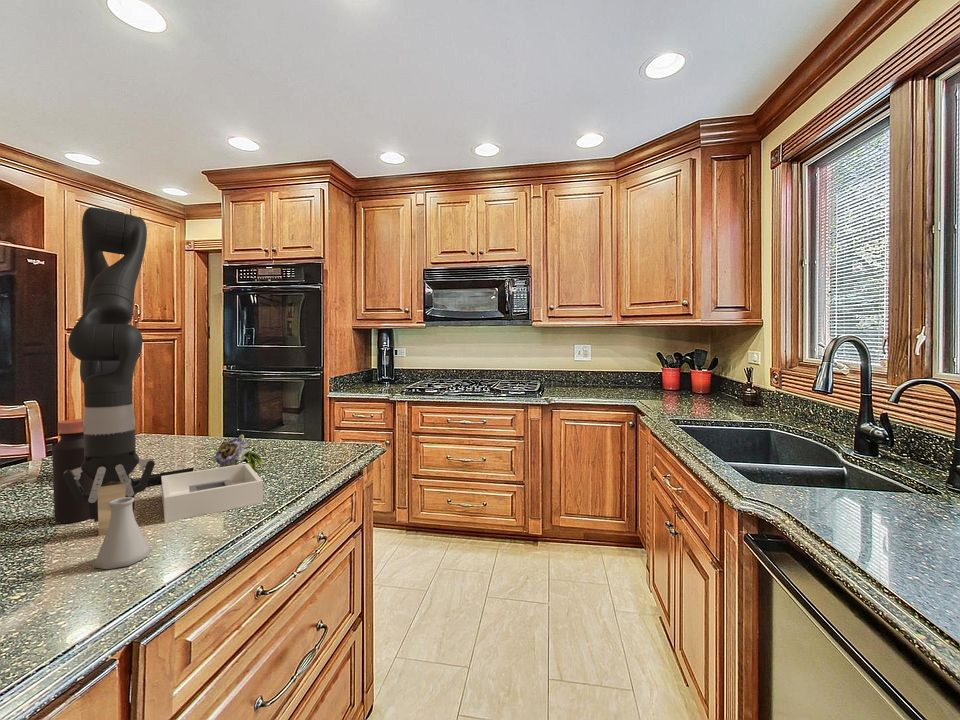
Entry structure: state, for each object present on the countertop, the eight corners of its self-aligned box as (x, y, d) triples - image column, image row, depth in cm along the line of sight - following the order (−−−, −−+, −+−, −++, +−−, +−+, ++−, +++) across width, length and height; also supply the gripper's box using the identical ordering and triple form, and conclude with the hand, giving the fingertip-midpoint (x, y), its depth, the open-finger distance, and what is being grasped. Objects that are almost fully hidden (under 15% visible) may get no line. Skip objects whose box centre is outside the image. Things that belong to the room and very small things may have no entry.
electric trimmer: (195, 480, 116) (195, 468, 116) (120, 494, 105) (120, 480, 105) (191, 477, 119) (191, 465, 119) (118, 490, 107) (117, 477, 107)
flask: (116, 550, 76) (114, 493, 76) (160, 548, 77) (158, 492, 76) (82, 571, 69) (80, 509, 69) (131, 569, 70) (129, 507, 69)
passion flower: (226, 493, 121) (198, 458, 120) (254, 474, 131) (229, 442, 130) (251, 474, 117) (223, 438, 117) (278, 456, 128) (252, 423, 127)
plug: (100, 528, 85) (98, 482, 84) (127, 523, 87) (125, 478, 87) (98, 536, 82) (97, 488, 81) (126, 530, 84) (124, 484, 84)
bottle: (107, 510, 94) (104, 417, 93) (84, 523, 87) (81, 423, 87) (71, 512, 93) (67, 418, 92) (45, 525, 86) (41, 424, 85)
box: (161, 497, 102) (161, 476, 102) (248, 482, 113) (247, 463, 113) (164, 522, 88) (164, 498, 87) (263, 502, 99) (262, 480, 98)
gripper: (156, 421, 91) (158, 503, 92) (61, 430, 82) (65, 520, 83) (156, 427, 85) (159, 514, 86) (55, 437, 76) (58, 534, 77)
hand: (112, 517), depth 84 cm, fingers closed on plug, 4 cm apart
